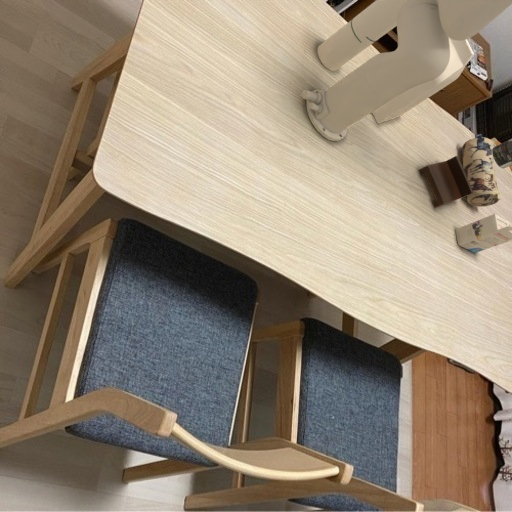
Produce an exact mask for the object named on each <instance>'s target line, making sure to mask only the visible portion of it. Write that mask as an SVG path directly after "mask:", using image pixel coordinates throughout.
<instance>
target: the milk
mask: <svg viewBox="0 0 512 512" xmlns="http://www.w3.org/2000/svg"><path fill="white" fill-rule="evenodd" d="M468 40H469V39H466V40H462V41H457V40H453V39H451V38H449V44H450V58H449V63H448V65H447V67H446V69H445V71H444V72H443V73H442V74H441V75H440V76H438V77H437V78H435V79H433V80H431V81H428V82H426V83H423V84H420V85H418V86H415V87H413V88H411V89H409V90H407V91H405V92H403V93H402V94H400V95H398V96H397V97H395V98H393V99H392V100H390V101H389V102H387V103H386V104H384V105H382V106H381V107H379V108H378V109H376V110H374V111H373V112H371V114H372V115H373V117H374V119H375V121H376V123H377V124H382V123H384V122H387V121H391V120H394V119H397V118H400V117H401V116H403V115H405V114H406V113H407V112H409V111H410V110H412V109H414V108H415V107H417V106H418V105H420V104H421V103H423V102H424V101H426V100H427V99H429V98H431V97H432V96H433V95H435V94H437V93H438V92H439V91H441V90H443V89H444V88H446V87H447V86H449V85H450V84H453V82H455V81H456V80H457V79H458V78H459V77H460V76H461V74H462V73H463V71H464V69H465V68H466V66H467V65H468V64H469V62H470V60H471V59H472V58H473V57H474V55H475V53H474V51H473V49H472V47H471V44H470V41H468Z"/></svg>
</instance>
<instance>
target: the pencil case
mask: <svg viewBox="0 0 512 512" xmlns="http://www.w3.org/2000/svg"><path fill="white" fill-rule="evenodd" d="M497 142H498V139H497V138H496V137H492V138H491V139H490V138H488V137H485V136H484V137H483V134H482V133H478V134H474V138H470V139H468V140H466V141H465V142H464V143H463V145H462V147H461V159H462V167H463V170H464V172H465V174H466V177H467V179H468V181H469V183H470V186H471V188H472V190H473V193H472V194H470V195H467V196H466V203H467V204H469V205H471V206H474V207H481V208H482V207H490V206H493V205H496V204H497V203H498V202H500V201H501V191H500V190H499V188H498V187H499V186H498V183H497V176H496V169H495V160H494V158H493V154H492V149H493V147H495V146H497V144H496V143H497Z"/></svg>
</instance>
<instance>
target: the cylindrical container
mask: <svg viewBox="0 0 512 512" xmlns="http://www.w3.org/2000/svg"><path fill="white" fill-rule="evenodd" d="M405 1H406V0H374V1H373V2H372V3H371V4H370V5H368V6H367V7H365V9H363V10H362V11H360V13H357V15H356V16H355V17H353V18H352V19H351V20H350V21H348V22H347V23H346V24H344V25H343V26H342V27H341V28H339V29H338V30H337V31H336V32H334V33H333V34H332V35H330V36H329V37H328V38H327V39H326V40H324V41H323V42H322V43H320V44H319V45H318V46H317V50H316V51H317V56H318V58H319V61H320V62H321V63H322V66H324V67H325V68H326V69H328V70H329V71H331V72H335V71H337V70H338V69H340V68H341V67H342V66H344V65H345V64H347V63H348V62H349V61H351V60H352V59H353V58H355V57H356V56H358V55H359V54H360V53H362V52H363V51H364V50H366V49H367V48H369V47H370V46H372V44H374V43H375V42H377V41H379V40H380V38H382V37H383V36H385V35H386V34H388V33H389V32H390V31H392V30H394V28H397V16H398V13H399V10H400V9H401V7H402V5H403V4H404V3H405Z"/></svg>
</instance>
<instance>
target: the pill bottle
mask: <svg viewBox="0 0 512 512" xmlns="http://www.w3.org/2000/svg"><path fill="white" fill-rule="evenodd" d="M492 154H493V158H494V163H495V164H496V165H497V167H499V168H500V169H506V168H509V167H511V166H512V138H510V139H508V140H506V141H504V142H501V143H499V144H496V146H495V147H493V149H492Z"/></svg>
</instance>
